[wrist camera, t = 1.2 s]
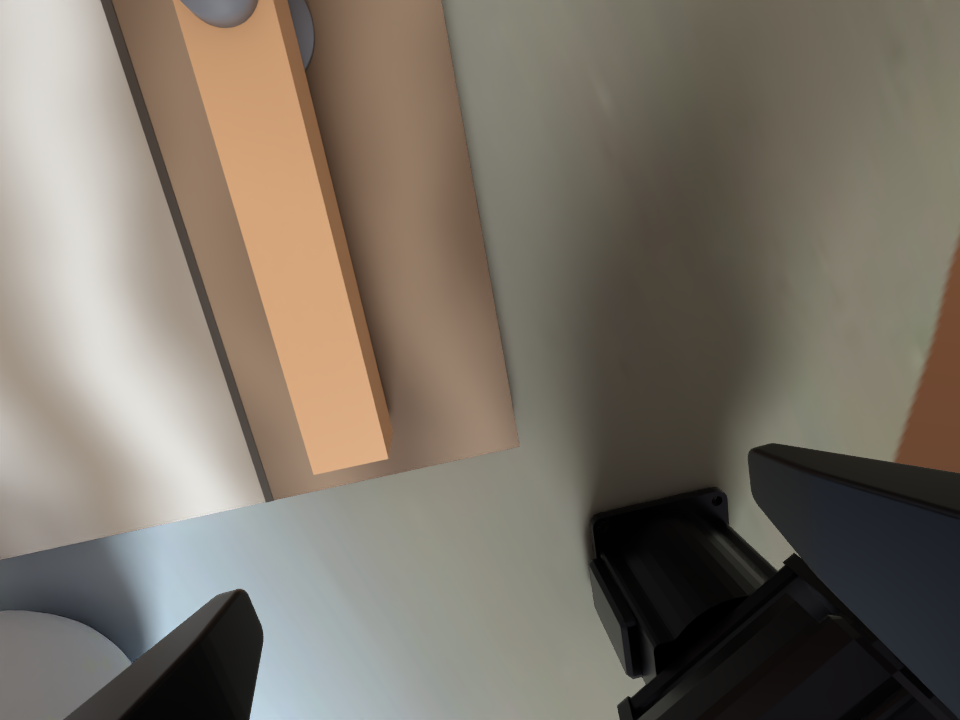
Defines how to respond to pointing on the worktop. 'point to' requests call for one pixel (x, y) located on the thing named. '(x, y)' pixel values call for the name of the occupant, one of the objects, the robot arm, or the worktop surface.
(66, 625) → the teacup
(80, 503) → the door and jamb
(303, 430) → the bar
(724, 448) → the worktop surface
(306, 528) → the worktop surface
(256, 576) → the worktop surface
